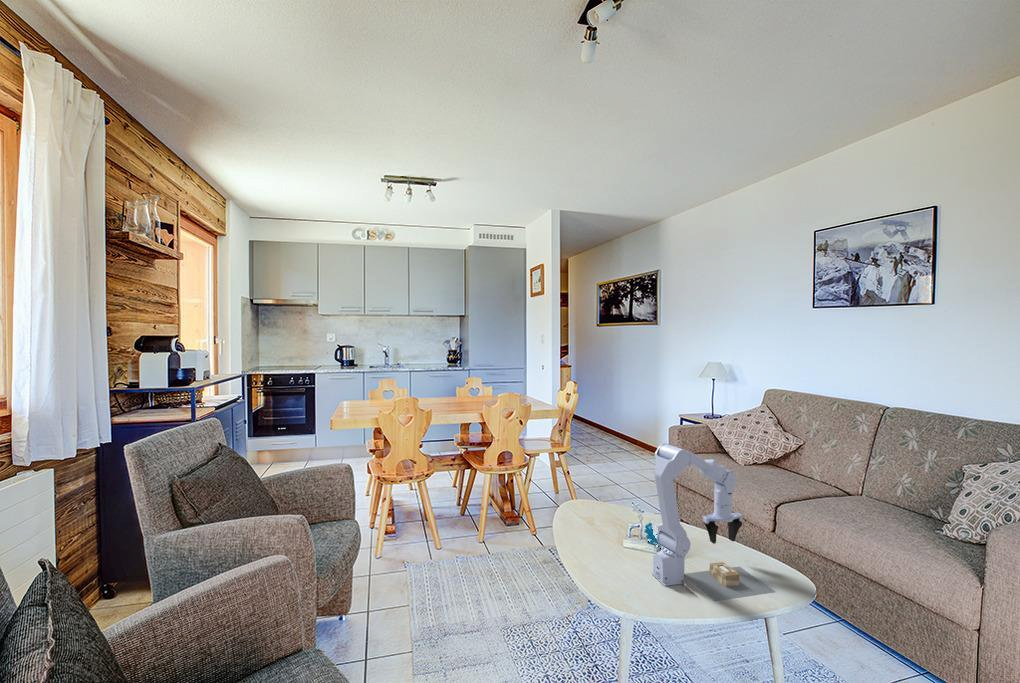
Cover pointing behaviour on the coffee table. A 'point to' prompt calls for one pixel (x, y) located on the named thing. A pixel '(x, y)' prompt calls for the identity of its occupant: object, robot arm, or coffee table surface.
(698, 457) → the robot arm
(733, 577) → the open rectangular tan frame
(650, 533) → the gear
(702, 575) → the board
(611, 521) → the coffee table surface
